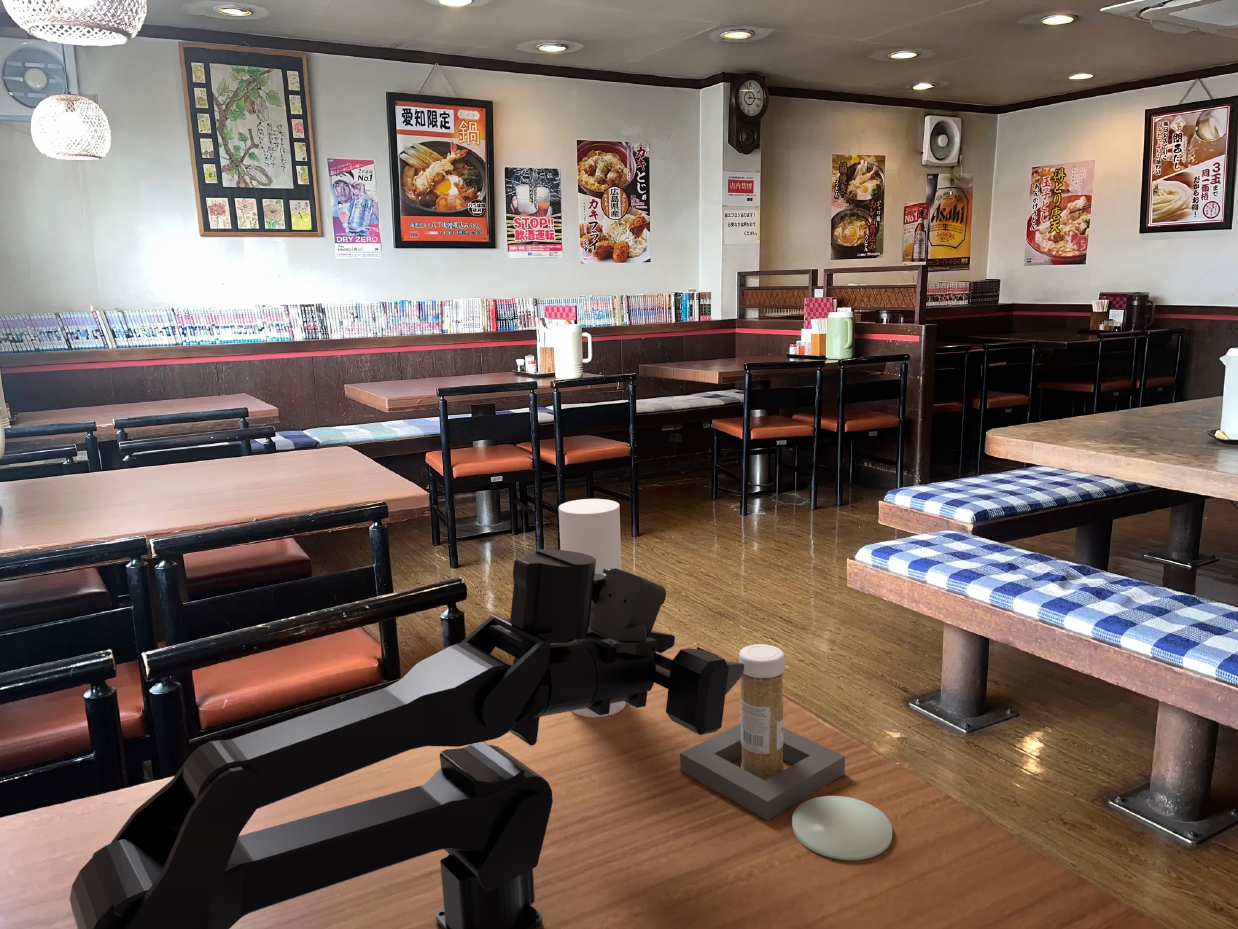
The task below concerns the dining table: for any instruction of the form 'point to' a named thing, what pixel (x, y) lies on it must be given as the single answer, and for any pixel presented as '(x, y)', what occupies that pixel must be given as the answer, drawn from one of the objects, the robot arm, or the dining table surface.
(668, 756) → the dining table surface
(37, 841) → the dining table surface
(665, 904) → the dining table surface
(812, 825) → the coaster
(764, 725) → the sprinkles bottle
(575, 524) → the cylindrical container
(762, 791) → the holder
